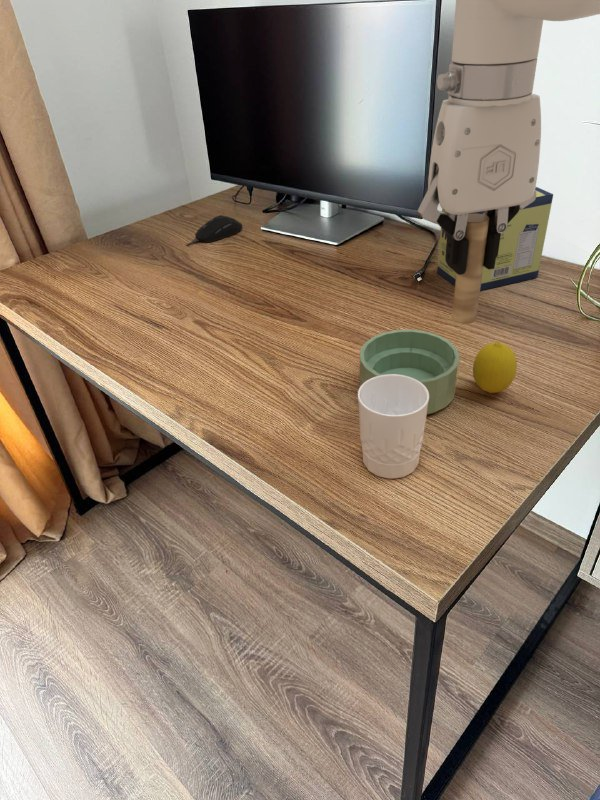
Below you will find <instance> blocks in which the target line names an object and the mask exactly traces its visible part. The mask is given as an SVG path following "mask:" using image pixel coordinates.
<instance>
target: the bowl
mask: <svg viewBox="0 0 600 800" xmlns="http://www.w3.org/2000/svg"><path fill="white" fill-rule="evenodd" d="M460 360H461V356H460V353H459V349H458V348H457V347H456V346H455V344H454V343H452V341H450V340H449V339H446V338H445V337H444V336H441V335H439V334H436V333H433V332H429V331H425V330H419V329H395V330H389V331H384V332H382V333H380V334H376V335H374V336H372V337H370V339H368V340H367V341H366V342H364V343H363V345H362V347H361V348H360V350H359V387H360V386H361V385H362V384H363V383H364V382H366V381H367V380H369V379H371V378H373V377H376V376H380V375H386V374H398V375H404V376H408V377H411V378H414V379H416V380H418V381H419V382H421V383H422V384H423V385H424V386H425V387H426V388H427V390H428V392H429V402H428V409H427V415H429V414H434V413H437V412H439V411H440V410H443V409H444V408H447V406H448V405H450V403H452V402H453V400H454V399H455V395H456V392H457V387H458V379H459V370H460V363H461V361H460Z"/></svg>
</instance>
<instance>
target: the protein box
mask: <svg viewBox="0 0 600 800" xmlns="http://www.w3.org/2000/svg"><path fill="white" fill-rule="evenodd" d="M535 194H536V199H535V201H534V202H532V203H531V204H529V205H528V206H526V207H525V208H523V209H522V210H519V212H518V213H517V214H516V215H515V217H514V218H513V219H512V220H511V221H510V222H509V223H508V224H507V229H506V231H505V232H504V233H501V236H500V244H499V251H498V256H497V257H496V261H495V267H494V269H487V268H485V267H484V266H483V272H482V280H481V287H480V292H481V291H485V290H490V289H495V288H498V287H503V286H507V285H511V284H516V283H520V282H526V281H530V280H534V279H538V276H539V271H540V266H541V262H542V261H541V260H542V256H543V251H544V245H545V241H546V236H547V231H548V225H549V221H550V214H551V210H552V205H553V198H554V193H551V192H549V191H547V190H545V189H542V188H540V187H538V186H536V187H535ZM441 211H442V212H443V213H445V210H444V209H443V208H441ZM469 214H483V215H485V211H480V212H474V213H469ZM439 231H440V232H439V246H438V258H437V269H436V271H437V272H436V274H437V273H438V274H439V275H440V276H441V277H442V278H444V279H445V280H447V281H448V282H449V283H451V284H452V285H453V286H455V282H456V272H455V271H453V270H452V269H451V268H450V267H449V266H448V265H447V263H446V260H445V255H446V243H447V233H446V232H445V231H444V230H443V229H442V228H441V227H440V230H439Z"/></svg>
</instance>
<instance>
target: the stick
mask: <svg viewBox="0 0 600 800" xmlns="http://www.w3.org/2000/svg"><path fill="white" fill-rule="evenodd" d="M488 224H489V217H488V216H486V215H483V214H468V220H467V225H466V231H465V238H466V239H468V241H469V246H468V255H467V264H466V272H465V273H464V274H462V275H458V274H457V273H456V282H455V285H454V292H453V293H454V294H453V305H452V315H451V319H452V320H453V321H454V322H455V323H459V324H463V325H465V324H468V325H469V324H473V323H474V322H476V321H477V318H478V310H479V304H480V303H479V302H480V294H481V291H480V287H481V280H482V272H483V264H484V256H485V248H486V240H487V232H488Z"/></svg>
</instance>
